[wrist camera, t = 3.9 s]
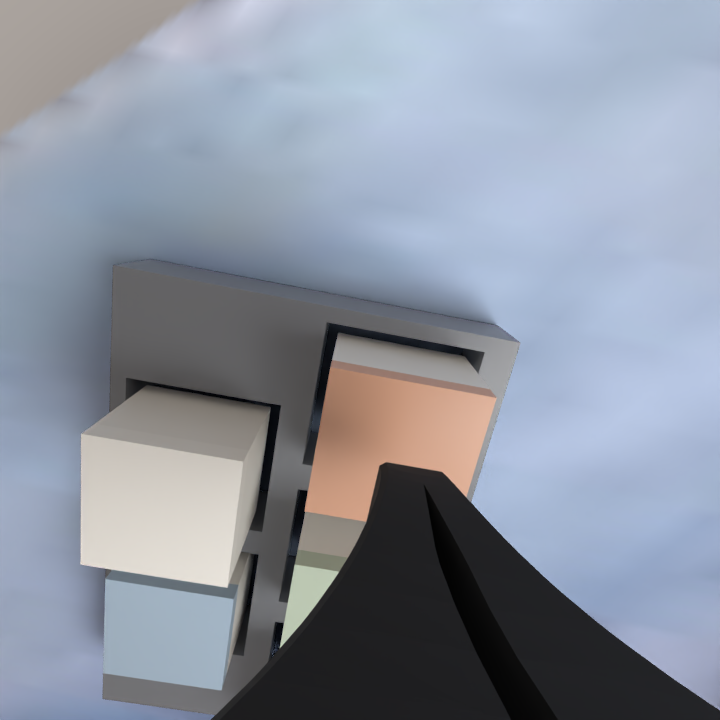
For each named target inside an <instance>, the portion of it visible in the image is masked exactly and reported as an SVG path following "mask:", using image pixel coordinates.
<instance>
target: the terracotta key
mask: <svg viewBox="0 0 720 720" xmlns="http://www.w3.org/2000/svg"><path fill="white" fill-rule="evenodd" d="M496 399H497V398H496V396H495V395H494V394H493V392H492V391H491V390H490V389H489V387H488V386H487V385H486V383H485V382H484V381H483V379H482V378H481V377H480V375H479V374H478V373H477V372H476V370H475V369H474V368H473V366H472V365H471V364H470V362H469V361H468V360H467V358H466V357H465V356H460V355H455V354H450V353H445V352H439V351H434V350H429V349H423V348H418V347H413V346H407V345H402V344H397V343H391V342H386V341H381V340H375V339H370V338H365V337H359V336H354V335H349V334H343V333H338V336H337V341H336V345H335V349H334V354H333V358H332V362H331V367H330V372H329V377H328V383H327V388H326V394H325V400H324V405H323V411H322V416H321V422H320V427H319V433H318V438H317V444H316V449H315V455H314V461H313V466H312V472H311V477H310V483H309V488H308V494H307V499H306V505H305V510H304V511H305V512H311V513H317V514H323V515H329V516H335V517H341V518H347V519H353V520H359V521H365V522H366V521H367V517H368V513H369V508H370V504H371V500H372V495H373V491H374V487H375V482H376V478H377V474H378V469H379V466H380V465H382V464H383V463H385V462H389V463H395V464H400V465H406V466H412V467H418V468H423V469H429V470H435V471H441V472H443V473H444V474H445V475H446V476H447V477H448V478H449V479H450V480H451V481H452V482H453V483H454V484H455V486H456V487H457V488H458V489H459V490H460V491H461V492H462V493H463V494H464V495H465V497H467V494H468V490H469V487H470V484H471V480H472V477H473V474H474V471H475V467H476V464H477V461H478V458H479V454H480V451H481V448H482V444H483V441H484V438H485V435H486V431H487V428H488V425H489V422H490V418H491V415H492V412H493V408H494V405H495V402H496Z"/></svg>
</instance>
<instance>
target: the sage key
mask: <svg viewBox="0 0 720 720" xmlns="http://www.w3.org/2000/svg"><path fill="white" fill-rule="evenodd" d="M365 524H366V522H365V521H359V520H353V519H347V518H341V517H335V516H329V515H323V514H317V513H311V512H305V516H304V521H303V526H302V531H301V536H300V541H299V546H298V551H297V556H296V561H295V566H294V571H293V577H292V582H291V588H290V594H289V599H288V605H287V610H286V616H285V621H284V627H283V632H282V638H281V643H280V648H281V647H282V645H283V644H284V643H285V642H286V641H287V640H288V638H289V637H290V636H291V635H292V634H293V633H294V632H295V630H296V629H297V628H298V627H299V626H300V625H301V623H302V622H303V621H304V620H305V618H306V617H307V616H308V615H309V613H310V612H311V611H312V609H313V608H314V607H315V606H316V604H317V603H318V601H319V600H320V599H321V597H322V596H323V594H324V593H325V592H326V590H327V589H328V587H329V586H330V585H331V583H332V582H333V580H334V579H335V577H336V576H337V574H338V573H339V571H340V570H341V568H342V566H343V565H344V563H345V562H346V560H347V558H348V557H349V555H350V553H351V551H352V550H353V548H354V546H355V544H356V542H357V540H358V538H359V536H360V534H361V532H362V530H363V528H364V526H365Z"/></svg>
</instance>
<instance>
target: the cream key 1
mask: <svg viewBox="0 0 720 720" xmlns="http://www.w3.org/2000/svg"><path fill="white" fill-rule="evenodd" d="M270 411H271V407H268V406H262V405H257V404H251V403H246V402H240V401H234V400H229V399H223V398H217V397H212V396H206V395H201V394H195V393H189V392H184V391H178V390H173V389H167V388H161V387H156V386H150V385H146V386H145V387H143V388H142V389H141V390H139V391H138V392H137V393H135V394H134V395H133V396H131V397H130V398H129V399H127V400H126V401H125V402H123V403H122V404H121V405H119V406H118V407H117V408H115V409H114V410H112V411H111V412H110V413H108V414H107V415H106V416H104V417H103V418H102V419H100V420H99V421H98V422H96V423H95V424H94V425H92V426H91V427H90V428H88V429H87V430H86V431H84V432H83V433H81V565H86V566H92V567H99V568H105V569H111V570H118V571H124V572H130V573H137V574H143V575H150V576H156V577H162V578H169V579H175V580H181V581H188V582H194V583H200V584H207V585H213V586H219V587H226V588H227V587H228V585H229V582H230V579H231V577H232V574H233V571H234V569H235V566H236V563H237V561H238V558H239V555H240V553H241V550H242V547H243V545H244V542H245V539H246V537H247V534H248V531H249V529H250V526H251V523H252V521H253V518H254V515H255V513H256V509H257V502H258V495H259V488H260V481H261V474H262V467H263V460H264V453H265V446H266V439H267V432H268V425H269V418H270Z"/></svg>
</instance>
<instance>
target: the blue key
mask: <svg viewBox="0 0 720 720" xmlns="http://www.w3.org/2000/svg"><path fill="white" fill-rule="evenodd" d="M254 555H255V554H252V553H246V552H241V553H240V555H239V558H238V561H237V563H236V566H235V569H234V571H233V574H232V577H231V579H230V582H229V585H228V587H227V588H226V587H219V586H213V585H207V584H200V583H194V582H188V581H181V580H175V579H169V578H162V577H156V576H150V575H143V574H137V573H130V572H124V571H118V570H112V571H111V572H110V573H109V575H108V576H107V577H106V579H105V611H104V653H103V673H105V674H112V675H118V676H125V677H132V678H139V679H146V680H153V681H160V682H166V683H173V684H180V685H187V686H194V687H201V688H207V689H214V690H222V687H223V684H224V681H225V677H226V674H227V671H228V667H229V664H230V661H231V658H232V654H233V651H234V648H235V644H236V641H237V638H238V635H239V631H240V628H241V625H242V621H243V618H244V615H245V612H246V608H247V603H248V596H249V589H250V583H251V576H252V569H253V562H254Z"/></svg>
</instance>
